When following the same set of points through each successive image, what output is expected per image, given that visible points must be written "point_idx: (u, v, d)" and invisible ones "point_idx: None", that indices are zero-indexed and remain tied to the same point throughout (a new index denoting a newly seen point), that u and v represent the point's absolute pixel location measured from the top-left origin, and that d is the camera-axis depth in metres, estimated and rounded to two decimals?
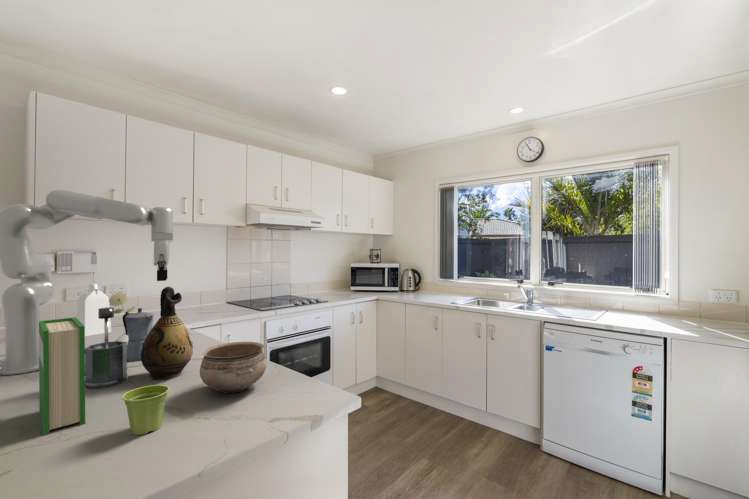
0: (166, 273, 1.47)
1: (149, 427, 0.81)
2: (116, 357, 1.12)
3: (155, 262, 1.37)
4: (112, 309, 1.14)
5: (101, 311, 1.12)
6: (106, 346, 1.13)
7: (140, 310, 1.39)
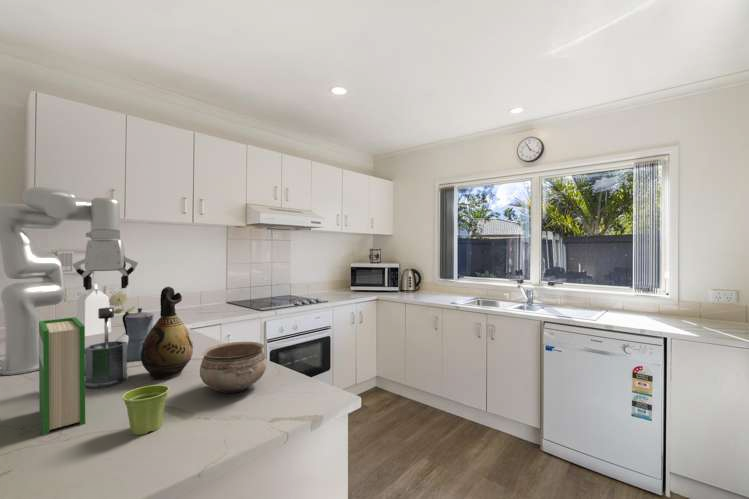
0: (91, 281, 1.14)
1: (149, 427, 0.81)
2: (116, 357, 1.12)
3: (122, 266, 1.14)
4: (112, 309, 1.14)
5: (101, 311, 1.12)
6: (106, 346, 1.13)
7: (140, 310, 1.39)
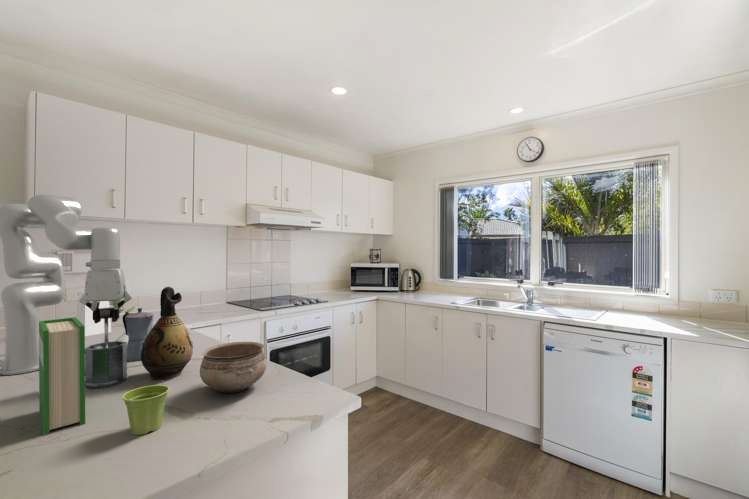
0: None
1: (149, 427, 0.81)
2: (116, 357, 1.12)
3: (122, 295, 1.14)
4: (112, 309, 1.14)
5: (101, 311, 1.12)
6: (106, 346, 1.13)
7: (140, 310, 1.39)
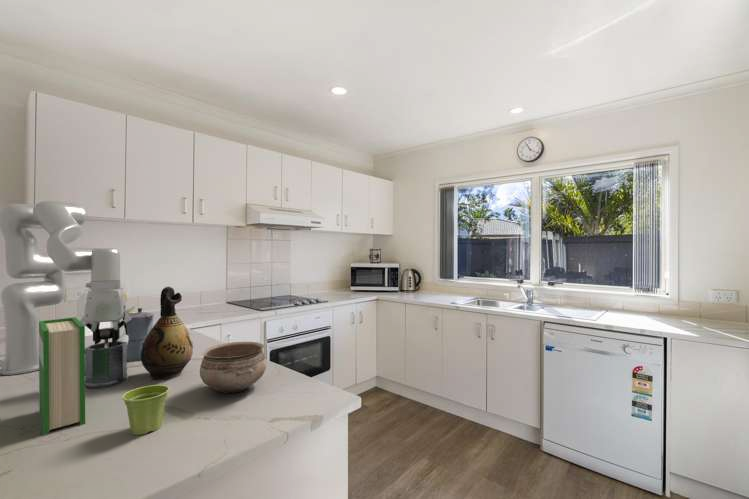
0: None
1: (149, 427, 0.81)
2: (116, 357, 1.12)
3: (122, 316, 1.14)
4: (112, 330, 1.14)
5: (101, 332, 1.12)
6: None
7: (140, 310, 1.39)
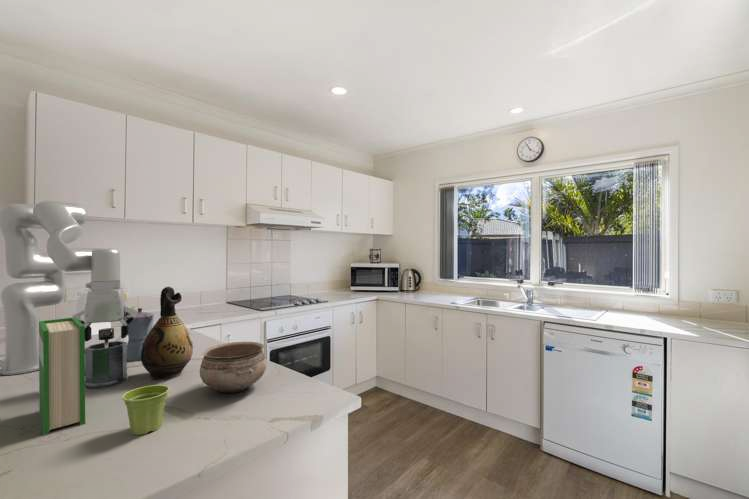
0: None
1: (149, 427, 0.81)
2: (116, 357, 1.12)
3: (122, 316, 1.14)
4: (112, 330, 1.14)
5: (101, 333, 1.12)
6: None
7: (140, 310, 1.39)
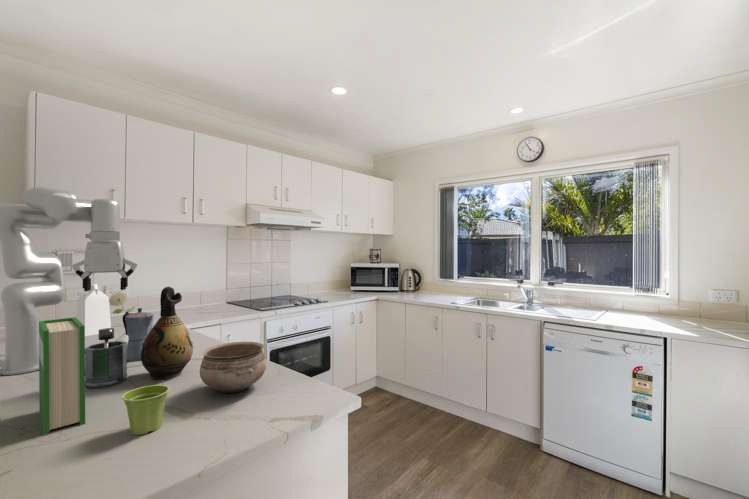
0: (90, 283, 1.14)
1: (149, 427, 0.81)
2: (116, 357, 1.12)
3: (121, 267, 1.14)
4: (112, 330, 1.14)
5: (101, 333, 1.12)
6: None
7: (140, 310, 1.39)
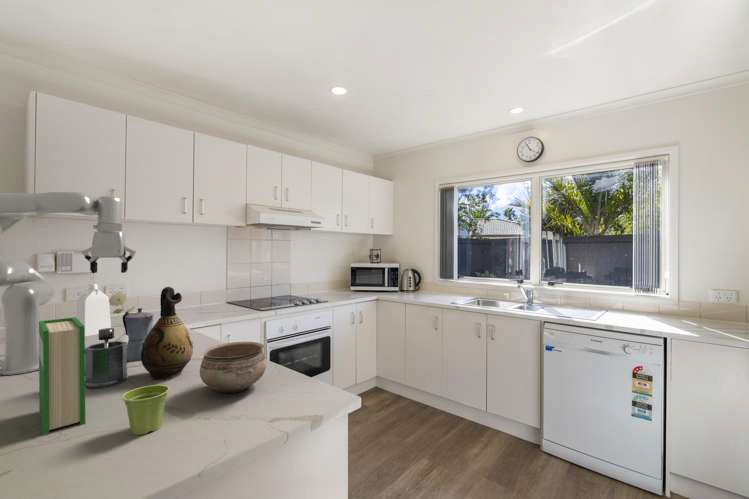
0: None
1: (149, 427, 0.81)
2: (116, 357, 1.12)
3: (122, 254, 1.35)
4: (112, 330, 1.14)
5: (101, 333, 1.12)
6: None
7: (140, 310, 1.39)
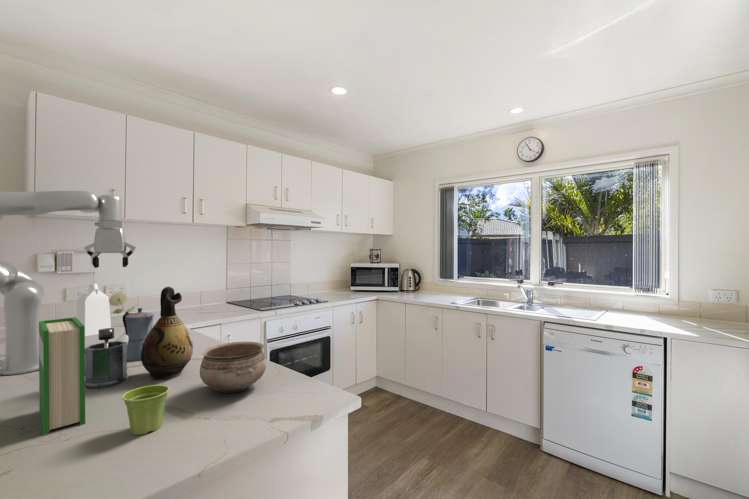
0: (98, 261, 1.43)
1: (149, 427, 0.81)
2: (116, 357, 1.12)
3: (123, 249, 1.43)
4: (112, 330, 1.14)
5: (101, 333, 1.12)
6: None
7: (140, 310, 1.39)
